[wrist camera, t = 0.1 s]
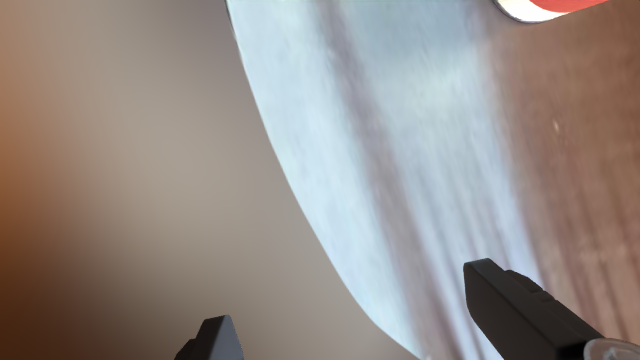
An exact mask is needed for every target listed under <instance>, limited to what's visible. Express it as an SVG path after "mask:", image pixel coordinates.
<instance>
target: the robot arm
mask: <svg viewBox="0 0 640 360" xmlns="http://www.w3.org/2000/svg"><path fill="white" fill-rule="evenodd" d="M463 272H464V282H465V293H466V303H467V307H468V310H469V312H470V315H471V317H472V318H473V320H474V322H475V323H476V324H477V326H478V327H479V328H480V329H481V331H482V332H483V333H484V334H485V336H486V337H487V338H488V340H489V341H490V342H491V343H492V345H493V346H494V347H495V349H496V350H497V351H498V352H499V354H500V355H501V356H502V358H503V359H504V360H640V346H638V345H636V344H633V343H630V342H627V341H624V340H619V339H613V338H605V337H604V336H603V335H601V334H600V333H599V332H597V331H596V330H595V329H594V328H592V327H591V326H590V325H588V324H587V323H586V322H585V321H583V320H582V319H581V318H580V317H578V316H577V315H576V314H574V313H573V312H572V311H571V310H569V309H568V308H567V307H565V306H564V305H563V304H562V303H560V302H559V301H558V300H555V299H554V297H553V296H551V295H550V294H549V293H548V292H546V291H543V289H542V288H541V287H540V286H539V285H537V284H536V283H535V282H533V281H532V280H531V279H530V278H528V277H526V276H524V275H521V274H519V273H517V272H514V271H512V270H507V271H504V270H503V269H502V268H500V267H499V266H498V265H497V264H496V263H494V262H493V261H492V260H491V259H489V258H485V259H480V260H476V261H471V262H467V263H464V266H463ZM174 360H244V357H243V351H242V348H241V345H240V343H239V339H238V337H237V334H236V331H235V328H234V325H233V322H232V319H231V317H230V316H229V315H223V316H219V317H214V318H210V319H205V320H204V322H203V323H202V325H201V327H200V330H199V332H198V334H197V336H196V338H195V339H190V340H189V341H188V342H187V343H186V344H185V345H184V347H183V348H182V349H181V350H180V351H179V352H178V353H177V355H176V357H175V359H174Z"/></svg>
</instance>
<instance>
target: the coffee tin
mask: <svg viewBox="0 0 640 360" xmlns="http://www.w3.org/2000/svg"><path fill="white" fill-rule="evenodd" d="M605 1H608V0H493V2H494V3H495V4H496V6H497V7H498V8H499V9H500V10H501V11H502V12H503V13H504V14H505V15H507V16H508V17H510V18H512V19H514V20H516V21H519V22H523V23H541V22H545V21H548V20H552V19H554V18H556V17H559V16H561V15H564V14H567V13H570V12H574V11H577V10H580V9H584V8H587V7H590V6H593V5H596V4H599V3H602V2H605Z"/></svg>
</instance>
